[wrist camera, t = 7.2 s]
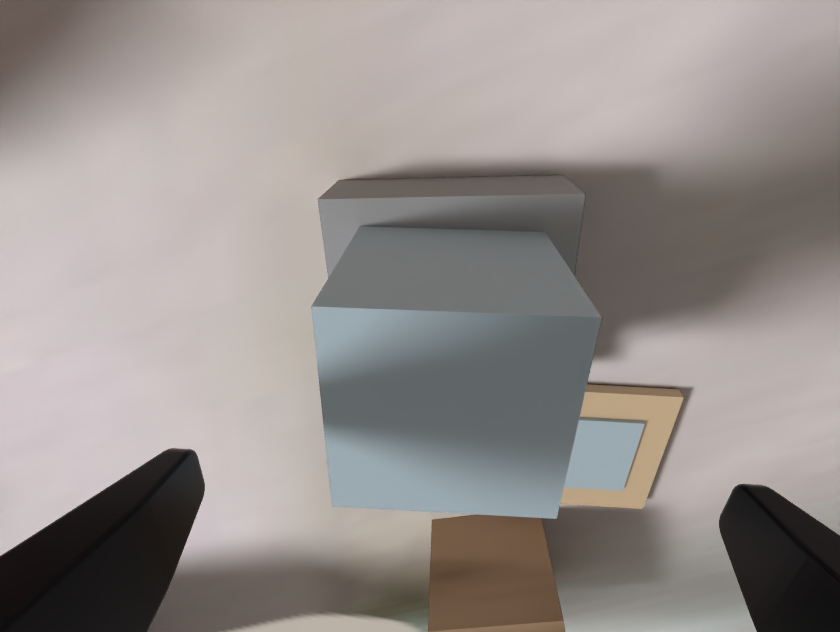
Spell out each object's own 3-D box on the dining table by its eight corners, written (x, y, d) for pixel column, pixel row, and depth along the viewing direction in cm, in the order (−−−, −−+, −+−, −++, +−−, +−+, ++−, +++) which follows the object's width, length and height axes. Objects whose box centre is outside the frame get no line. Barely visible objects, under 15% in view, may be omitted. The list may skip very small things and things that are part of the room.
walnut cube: (550, 573, 23) (574, 691, 19) (452, 583, 24) (454, 698, 19) (538, 505, 21) (563, 620, 16) (431, 518, 22) (428, 631, 17)
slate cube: (522, 384, 14) (557, 519, 10) (366, 378, 15) (331, 506, 10) (545, 232, 12) (602, 317, 8) (359, 226, 12) (311, 306, 8)
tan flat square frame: (638, 499, 20) (644, 512, 20) (502, 491, 20) (503, 503, 20) (678, 389, 17) (686, 400, 17) (519, 380, 18) (522, 391, 17)
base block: (540, 360, 18) (557, 409, 15) (361, 359, 18) (345, 407, 15) (560, 172, 14) (585, 193, 12) (341, 178, 15) (317, 199, 12)
